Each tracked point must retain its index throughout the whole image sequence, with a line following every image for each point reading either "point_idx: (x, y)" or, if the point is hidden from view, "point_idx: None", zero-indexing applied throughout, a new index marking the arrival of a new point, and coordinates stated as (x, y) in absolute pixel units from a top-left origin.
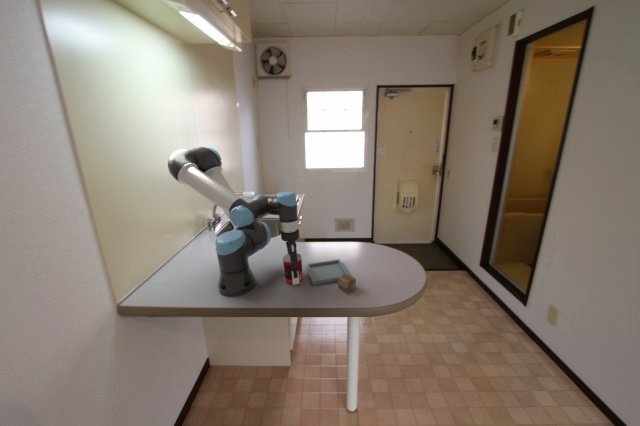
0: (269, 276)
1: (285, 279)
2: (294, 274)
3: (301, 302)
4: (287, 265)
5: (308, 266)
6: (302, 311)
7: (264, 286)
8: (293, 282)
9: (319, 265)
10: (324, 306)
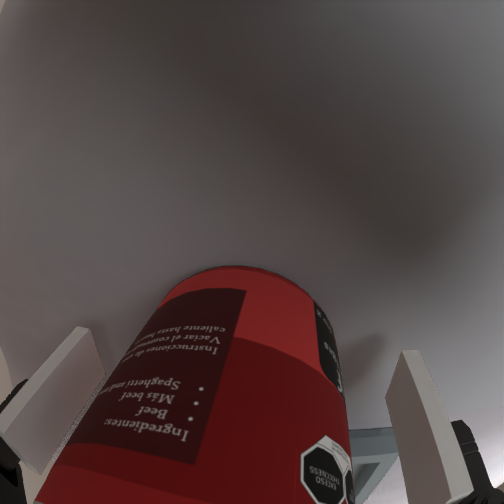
0: (409, 96)
1: (209, 276)
2: (3, 408)
3: (5, 309)
4: (56, 461)
5: (353, 460)
6: None
7: (196, 31)
8: (67, 344)
9: (358, 479)
10: (10, 375)
